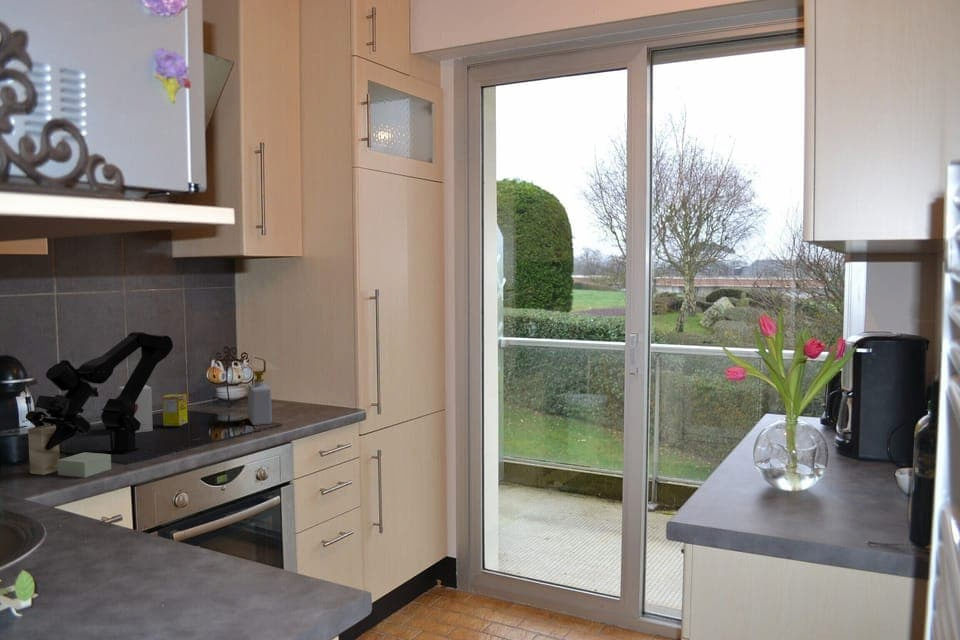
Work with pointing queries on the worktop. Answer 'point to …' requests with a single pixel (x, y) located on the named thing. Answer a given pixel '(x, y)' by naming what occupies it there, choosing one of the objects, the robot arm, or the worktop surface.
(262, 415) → the soap bottle
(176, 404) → the supplement box
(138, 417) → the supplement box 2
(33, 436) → the maple block
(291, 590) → the worktop surface
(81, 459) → the riser block
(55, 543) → the worktop surface
